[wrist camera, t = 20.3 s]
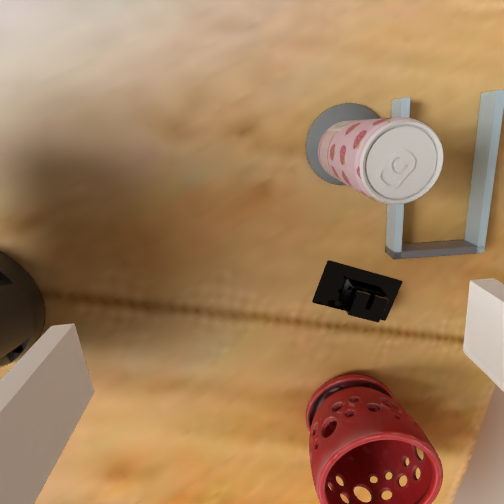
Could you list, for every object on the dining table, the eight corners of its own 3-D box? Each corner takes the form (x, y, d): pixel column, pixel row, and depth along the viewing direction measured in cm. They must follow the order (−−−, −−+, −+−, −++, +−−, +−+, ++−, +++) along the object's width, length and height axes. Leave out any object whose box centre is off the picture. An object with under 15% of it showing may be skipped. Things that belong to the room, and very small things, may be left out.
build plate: (416, 276, 43) (435, 293, 39) (392, 328, 45) (407, 350, 41) (317, 249, 42) (324, 263, 38) (297, 304, 44) (302, 323, 40)
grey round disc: (306, 187, 39) (307, 187, 39) (304, 106, 37) (305, 106, 36) (381, 181, 39) (383, 182, 38) (385, 100, 36) (387, 100, 36)
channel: (385, 251, 42) (393, 259, 39) (392, 99, 36) (401, 98, 34) (470, 245, 41) (484, 252, 39) (489, 92, 36) (506, 89, 34)
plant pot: (373, 452, 51) (408, 545, 40) (285, 427, 50) (296, 515, 38) (418, 379, 47) (471, 458, 36) (324, 348, 46) (349, 421, 34)
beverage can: (311, 172, 38) (346, 198, 24) (325, 115, 36) (373, 106, 22) (363, 183, 38) (429, 215, 24) (380, 127, 37) (462, 126, 22)
